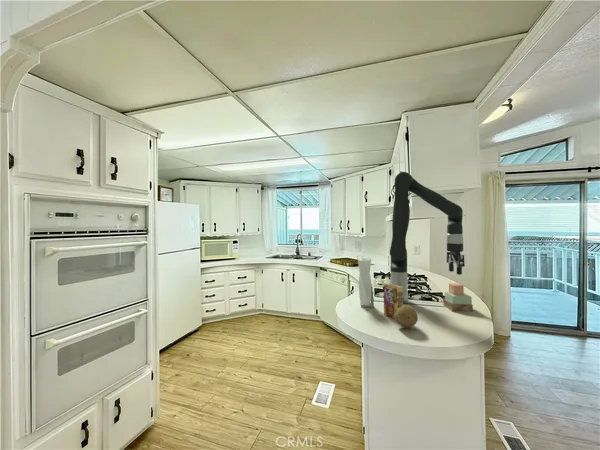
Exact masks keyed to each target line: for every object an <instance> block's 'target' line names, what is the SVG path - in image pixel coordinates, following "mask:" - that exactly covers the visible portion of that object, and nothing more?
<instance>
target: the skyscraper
mask: <svg viewBox="0 0 600 450" xmlns="http://www.w3.org/2000/svg"><path fill="white" fill-rule="evenodd" d="M358 257H360V258H361V259H359V258H358ZM356 258H357V263H358V264H357V265H358V271H359V277H358V293H359V294H358V295H359V304H360V308H368V309H369V308H370V309H371V308H372V309H373V308H374V309H375V304H374V302H375V300H374V291H373V290H374V289H373V288H374V287H373V284H372V278H371V277H372V276H371V265H372V264H371V263H372V259H371V258H369V257H363V256H361V255H356Z"/></svg>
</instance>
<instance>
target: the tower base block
mask: <svg viewBox="0 0 600 450" xmlns="http://www.w3.org/2000/svg"><path fill="white" fill-rule="evenodd" d="M442 303H443V304H442V305H443V306H444V307H445V308H447V309H448V310H450V311H451V312H466V313H467V312H471V313H472V312H473V311H474V309H473V308H474V307H473V306H474V305H473V304H452V303H450V302H449V301H447V300H446V299H445V298H443V299H442Z"/></svg>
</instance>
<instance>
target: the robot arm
mask: <svg viewBox="0 0 600 450" xmlns="http://www.w3.org/2000/svg"><path fill="white" fill-rule="evenodd" d="M409 193H413V194H414V195H416V196H417V197H419V198H420V199H422V200H423V201H424V202H426V203H427V204H429V205H431V206H432V207H433V208H435V209H437V210H439V211H441V212H442V213H444V214H445V215H446V216H447V225H446V226H447V227H446V233H447V235H446V264H447V263H448V272H452V273H453V272H454V271H455V270H454V269H455V267H454V266H456V275H457V276H458V275H463V268H464V267H465V263H466V262H465V254H461V253H462V252H464V234H463V217H464V216H463V208H462V207H461V206H460V205H458V204H457V203H455V202H453V201H451V200H449V199H447V198H446V197H445V196H443V195H441V194H440V193H438V192H436V191H434V190H432V189H430V188H428V187H426V186H424V185H422V184H421V183H420V182H418V180H416V179H415V178H414V177H413V176H412V175H411V174H410V173H409V172H406V171H400V172H398V173H397V174H396V176H395V177H394V201H393V207H392V208H393V210H392V218H391V219H392V223H391V224H392V225H391V228H392V235H391V237H392V238H391V244H390V249H389V255H390V283H389V284H393V285H397V286H401V287H403V303H407V302H409V294H408V293H409V291H408V286H409V285H408V284H409V283H408V251H407V245H406V243H407V242H406V240H407V234H408V233H407V232H408V229H409V225H410V215H411V214H410V213H411V209H410V201H409ZM454 264H455V265H454Z"/></svg>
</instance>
